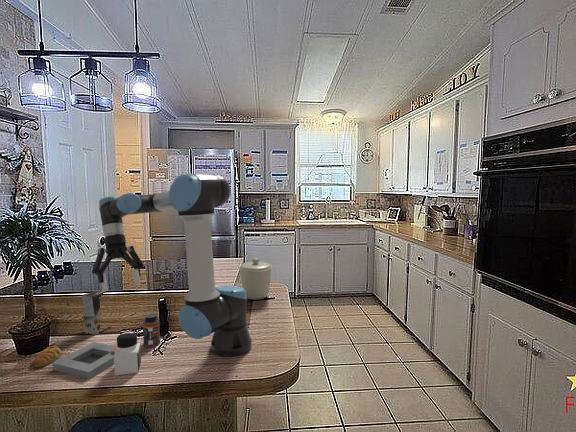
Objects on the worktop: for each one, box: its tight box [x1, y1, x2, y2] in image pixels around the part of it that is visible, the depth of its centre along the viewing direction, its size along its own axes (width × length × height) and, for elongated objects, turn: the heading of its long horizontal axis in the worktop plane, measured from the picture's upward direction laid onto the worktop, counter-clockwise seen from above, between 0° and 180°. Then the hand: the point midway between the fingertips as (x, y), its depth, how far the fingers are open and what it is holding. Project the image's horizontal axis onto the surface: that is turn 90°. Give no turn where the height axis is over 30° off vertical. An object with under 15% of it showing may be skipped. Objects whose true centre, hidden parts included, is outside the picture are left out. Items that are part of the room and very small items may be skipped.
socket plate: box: [52, 341, 117, 380], centre depth 120 cm, size 16×16×3 cm
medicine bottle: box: [113, 331, 142, 377], centre depth 116 cm, size 7×7×12 cm
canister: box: [238, 257, 273, 300], centre depth 187 cm, size 18×18×21 cm
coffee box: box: [81, 290, 106, 335], centre depth 146 cm, size 9×6×16 cm
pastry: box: [33, 345, 63, 368], centre depth 121 cm, size 9×7×4 cm
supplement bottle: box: [142, 313, 161, 348], centre depth 133 cm, size 6×6×11 cm
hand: (122, 288), depth 136 cm, fingers open, 13 cm apart
